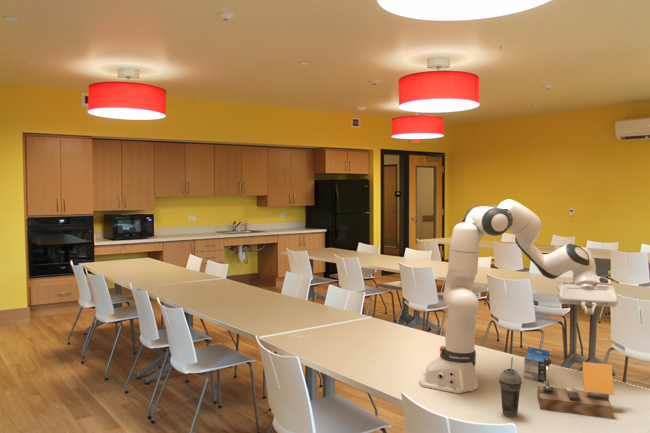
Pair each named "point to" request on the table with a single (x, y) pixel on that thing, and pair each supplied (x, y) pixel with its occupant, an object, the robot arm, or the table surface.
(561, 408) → the control panel
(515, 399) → the beverage cup
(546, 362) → the steel toggle lever
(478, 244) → the robot arm
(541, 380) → the label tape box
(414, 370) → the table surface
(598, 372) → the orange paddle
